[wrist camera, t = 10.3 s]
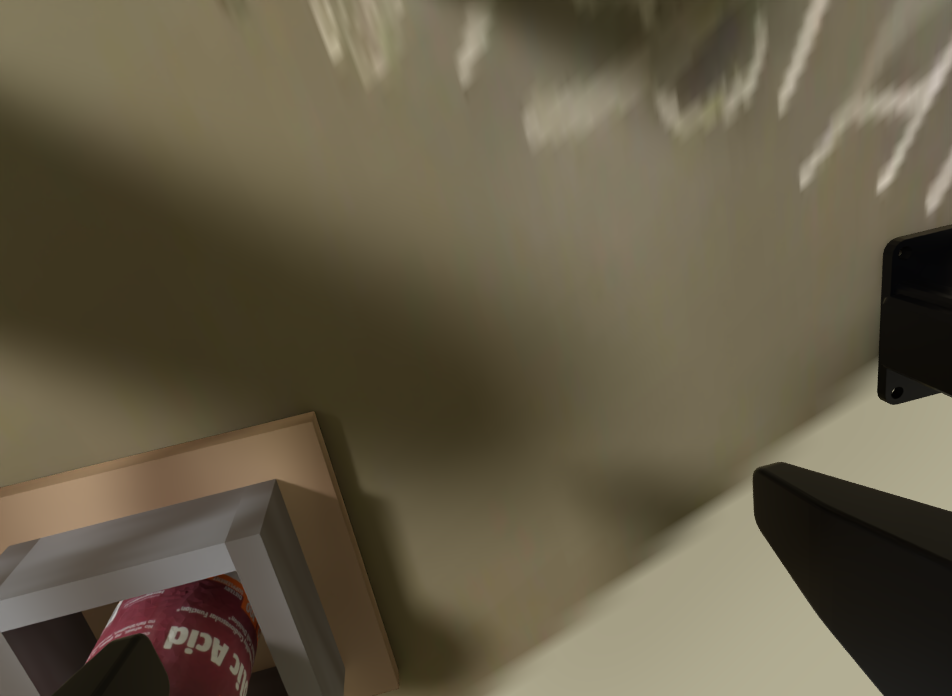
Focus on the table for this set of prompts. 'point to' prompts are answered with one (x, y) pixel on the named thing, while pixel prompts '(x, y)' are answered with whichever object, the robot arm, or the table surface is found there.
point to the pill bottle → (194, 634)
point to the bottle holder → (194, 559)
